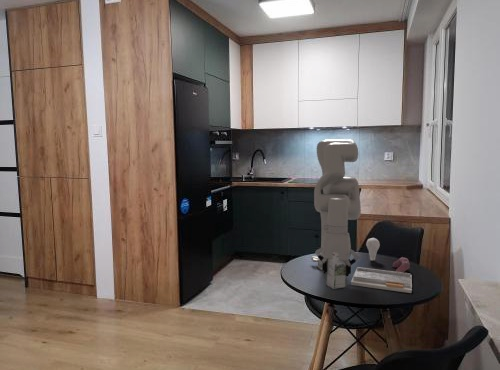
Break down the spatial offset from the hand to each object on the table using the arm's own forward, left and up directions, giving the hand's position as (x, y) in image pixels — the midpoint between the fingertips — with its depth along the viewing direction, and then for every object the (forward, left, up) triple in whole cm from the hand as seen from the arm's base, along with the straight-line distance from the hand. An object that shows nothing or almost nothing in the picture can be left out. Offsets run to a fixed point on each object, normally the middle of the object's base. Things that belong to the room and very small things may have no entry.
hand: (336, 273), depth 145 cm
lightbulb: (+10, +40, -5) cm, 42 cm away
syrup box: (0, 0, -5) cm, 5 cm away
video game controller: (+23, +30, -5) cm, 38 cm away
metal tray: (+16, +13, -4) cm, 21 cm away
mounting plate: (+16, +13, -5) cm, 21 cm away
